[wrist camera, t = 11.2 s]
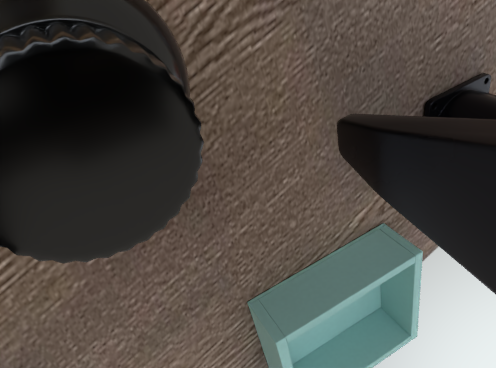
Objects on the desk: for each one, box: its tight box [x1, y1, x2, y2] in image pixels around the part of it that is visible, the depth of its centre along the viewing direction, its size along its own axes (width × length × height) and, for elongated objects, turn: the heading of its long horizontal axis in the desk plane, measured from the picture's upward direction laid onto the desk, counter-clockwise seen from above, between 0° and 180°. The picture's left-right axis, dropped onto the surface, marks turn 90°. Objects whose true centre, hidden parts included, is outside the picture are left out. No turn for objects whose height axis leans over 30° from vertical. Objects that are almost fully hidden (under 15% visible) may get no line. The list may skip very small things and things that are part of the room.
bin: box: [247, 223, 423, 368], centre depth 35 cm, size 14×12×4 cm
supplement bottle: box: [0, 0, 204, 263], centre depth 12 cm, size 7×7×12 cm
